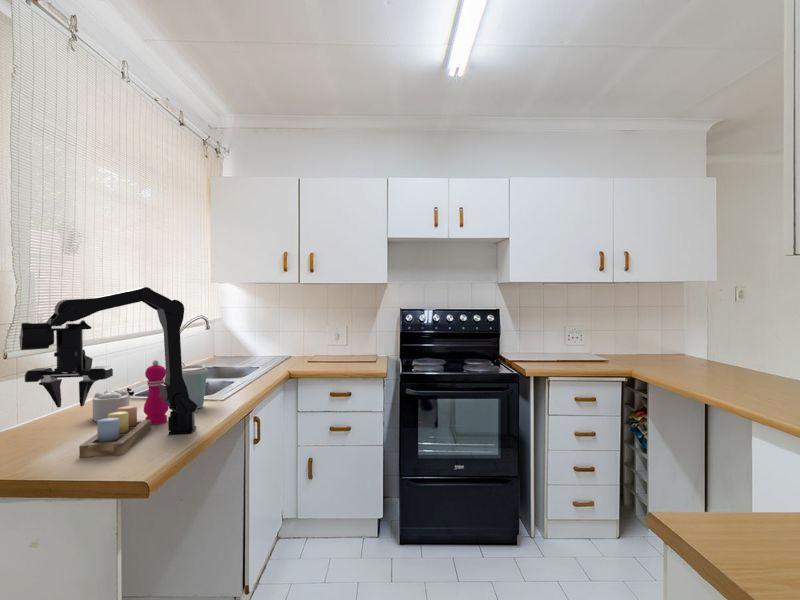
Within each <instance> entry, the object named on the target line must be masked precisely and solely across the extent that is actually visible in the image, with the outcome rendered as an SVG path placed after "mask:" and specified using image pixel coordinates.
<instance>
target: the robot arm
mask: <svg viewBox="0 0 800 600" xmlns="http://www.w3.org/2000/svg"><path fill="white" fill-rule="evenodd" d="M141 302H142V303H144V304H145V305H147V306H148V307H150V308H152V309H153V310H155V311H156V312H157V316H158V320H159V322H160V325H161V327H162V329H163V344H164V345H163V346H164V347H163V348H164V361H165V363H164V364H165V370H166V376H165V379H164V384H159V387H160V396H159V397H161V398H162V401H163V402H164V403H165V404H167V405H168V410H171V411H169V416H167V423H168V424H167V427H168V435H177V434H178V435H179V434H181V435H182V434H192V433H193V432H194V431H195V430H196V428H197V425H195V423H196V421H195V417H196V415H195V412H196V410H197V409H198V408H197V404H196V403H194V402H193V401H192V400H191V399H189V394H188V390H187V386H186V384H185V382H184V379H183V376H182V367H183V362H182V361H183V360H182V346H181V345H182V343H181V342H182V341H181V328H182V324H183V322H184V318H185V317H184V316H185V306H184V303H182V301H180V300H178V299H170V298H169V297H167V296H165V295H163V294H161V293H158V292H157V291H155V290H153V289H152V288H150V287H147V286H142V287H141V286H140V287H137V288H134V289H131V290H126V291H121V292H116V293H111V294H106V295H101V296H96V297H87V298H83V297H82V298H68V299H66V298H65V299H62V300H59V301H58V302H57V303H56V304H55V307H54V312H53V313H52V315H51V316H50V317H49V318H48V319H47V321H46V322H35V323H32V322H31V323H30V322H21V323H20V335H19V336H18V337H19V350H20V351H34V350H35V351H36V350H48V349H49V348H50V346H52V345H54V344H55V345H56V346H55V347H56V352H54V353H53V357H56V368H54V369H53V368H52V367H35V368H33V369H30V370H27V371H26V372H25V374H24V383H38V384H39V386H42V387H44V389H45V390H46V392H48V394H49V396H50V397H51V399H52V401H53V403H54V404H55V407H57V408H61V407H62V392H61V385H62V380H63V378H82V379H83V380H80V381H78V392H79V393H78V396H79V397H78V398H79V406H80V407H84V406H85V403H86V400H87V397H88V395H89V393H90V390H91V388H92V387H93V384H94V383H96V382H98V381H100V380H101V381H102V380H107V379H109V378H111V377H114V376H113V375H114V370H113V368H112V366H111V365H103V366H102V365H101V366H99V365H97V366H95V367H92V366H93V359H94V358H92V357H90V356H88V355H86V351H85V349H84V347H83V343H84V342H83V331H84V330H91V329H92V326H91V325H89V324H88V323H87V322H86V320H84V318H86V317H90V316H91V315H93V314H95V313H98V312H101V311H105V310H110V309H114V308H118V307H122V306H127V305H132V304H136V303H141ZM82 319H83V320H82ZM79 320H81V321H80V322H77V321H79ZM67 322H68V323H67ZM69 322H71V323H69ZM72 322H73V323H72ZM74 322H76V323H74ZM63 325H65V327H62V326H63ZM52 327H53V328H52ZM55 332H56V333H55ZM55 334H56V335H55ZM55 336H56V337H55ZM55 338H56V339H55ZM55 340H56V342H55ZM196 408H197V409H196Z"/></svg>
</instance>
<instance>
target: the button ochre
mask: <svg viewBox="0 0 800 600" xmlns="http://www.w3.org/2000/svg"><path fill="white" fill-rule="evenodd" d="M108 418H119V434H120V433H125V432H127V431H129V421H128V412H114V413H110V414H108Z"/></svg>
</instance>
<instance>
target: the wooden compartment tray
mask: <svg viewBox="0 0 800 600" xmlns="http://www.w3.org/2000/svg"><path fill="white" fill-rule="evenodd" d="M151 430H152V425H151V420H145V419H137V425H134V426H130V427H129V431H127V432H125V433H120V434H119V439H117V440H113V441H107V442H99V441H98V435H97V433H96V434H94V435H93V436H91V437H90V438H89V439H87V440H86V441H84V442H82V443H81V444H80V445H79V446H78V447H79V451H78V453H79V454H78V455H79V458H80V457H81V458H91V457H90V456H98V457H107V456H106V455H114V456H123V455H124V454H125V453H127V451H128V450H130V449H131V448H132V447H134V445H136V443H138V442H139V441H140V440H141V439H142V438H143V437H144V436H145V435H147V434H146V433H147V432H148V431H149V432H150V431H151ZM149 432H148V433H149ZM137 441H138V442H137ZM122 454H123V455H122Z"/></svg>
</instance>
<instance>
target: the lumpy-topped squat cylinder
mask: <svg viewBox="0 0 800 600" xmlns="http://www.w3.org/2000/svg"><path fill="white" fill-rule="evenodd" d="M125 406H130V394H129V391H128V390H124V389H123V390H120V389H117V388H116V389H115V390H113V391H111V390H110V389H107V390H105V391H104V393H103V392H100V391H99V392H98V391H97V392H96V393H95V394H94V396H93V397H92V421H93V420H94V421H98V420H101V419H106V418H108V414H110V413H114V412H117V409H118V408H120V407H125ZM94 421H93V422H94Z"/></svg>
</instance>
